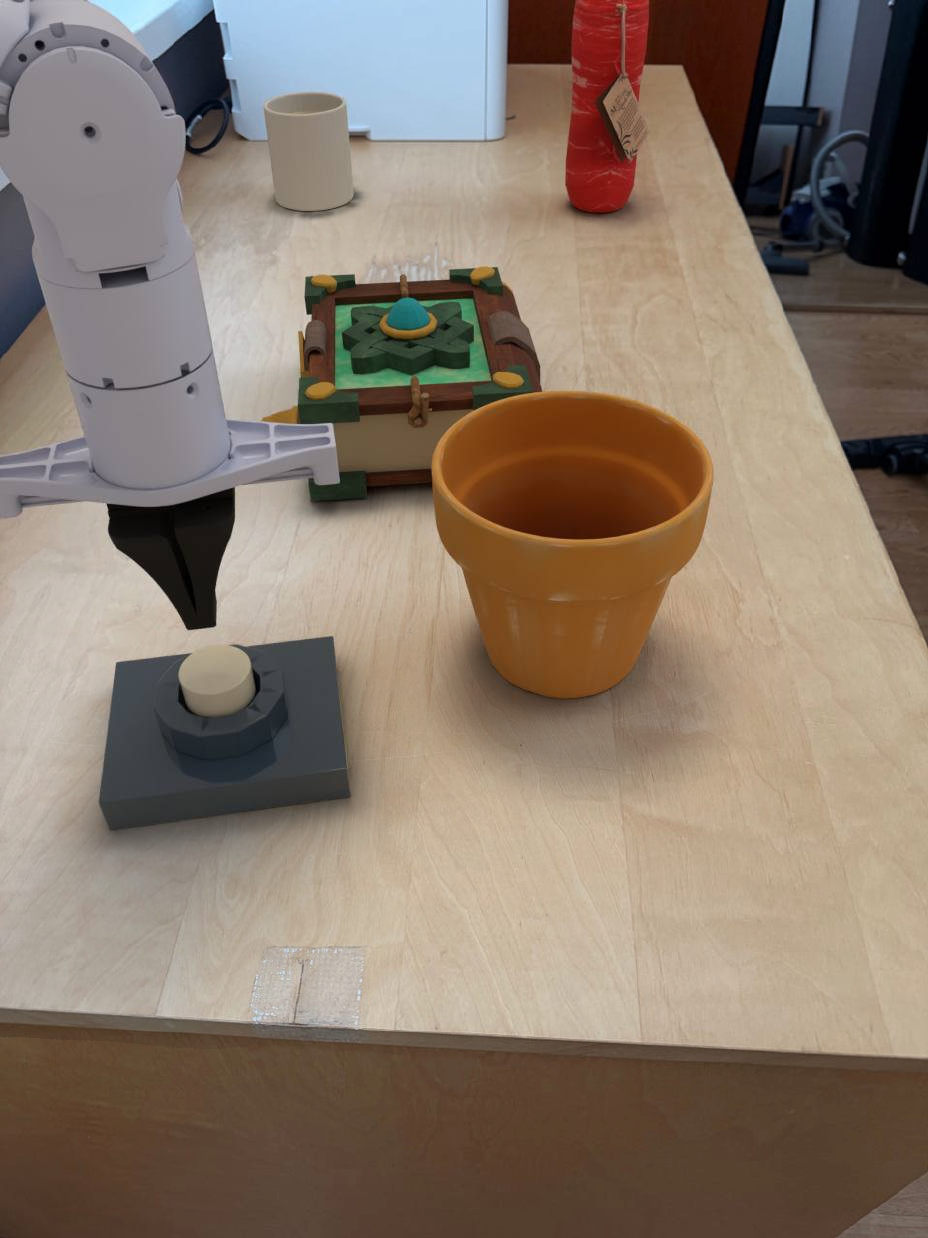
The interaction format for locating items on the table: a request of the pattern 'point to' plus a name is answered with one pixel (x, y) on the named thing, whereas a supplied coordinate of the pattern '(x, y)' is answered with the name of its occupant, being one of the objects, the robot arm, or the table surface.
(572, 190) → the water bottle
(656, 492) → the flower pot
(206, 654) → the cream cylinder puck
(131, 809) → the push button base
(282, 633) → the table surface
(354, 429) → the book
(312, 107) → the mug
